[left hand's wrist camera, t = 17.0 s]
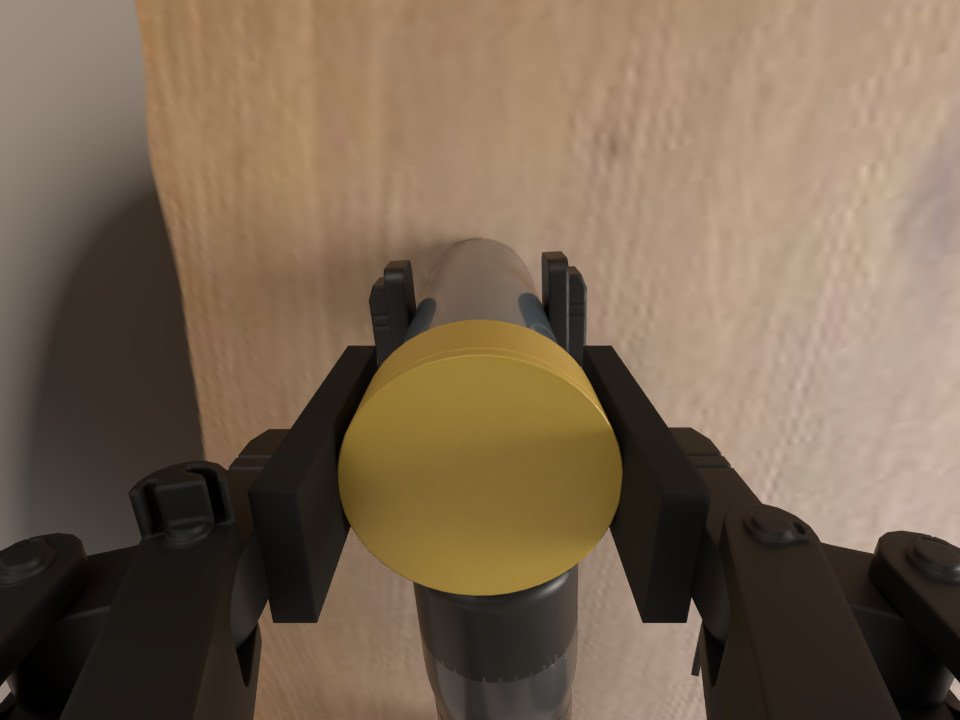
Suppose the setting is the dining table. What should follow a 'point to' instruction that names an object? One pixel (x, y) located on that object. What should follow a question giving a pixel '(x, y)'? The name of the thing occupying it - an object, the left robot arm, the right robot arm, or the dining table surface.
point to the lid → (480, 460)
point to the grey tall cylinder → (480, 290)
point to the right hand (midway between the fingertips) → (474, 261)
